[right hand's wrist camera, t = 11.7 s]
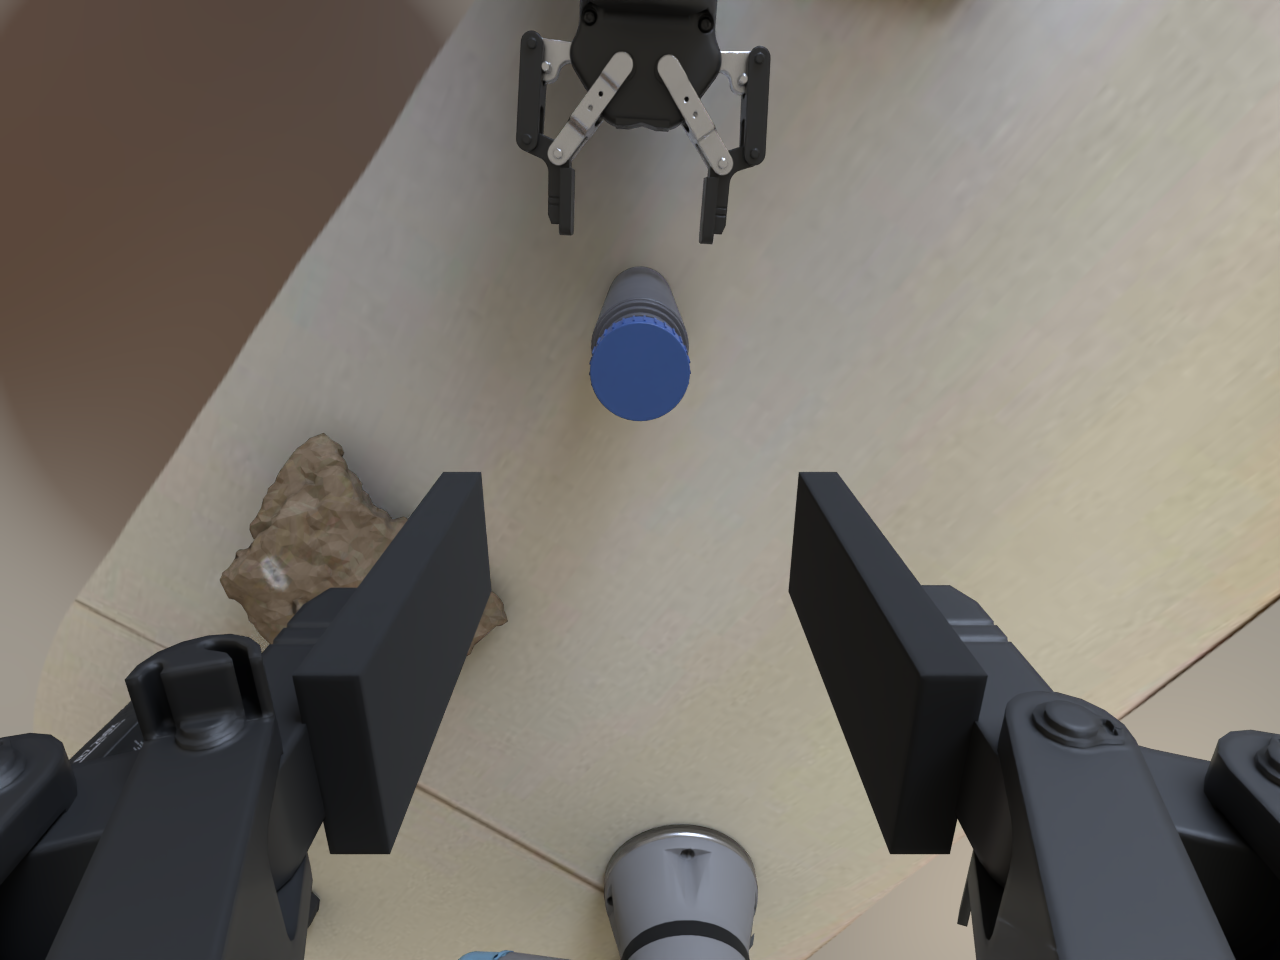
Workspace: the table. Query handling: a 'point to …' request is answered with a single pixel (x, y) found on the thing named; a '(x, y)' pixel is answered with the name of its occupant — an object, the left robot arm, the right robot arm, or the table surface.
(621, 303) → the bottle
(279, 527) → the stone
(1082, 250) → the table surface
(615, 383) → the cap
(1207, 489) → the table surface
